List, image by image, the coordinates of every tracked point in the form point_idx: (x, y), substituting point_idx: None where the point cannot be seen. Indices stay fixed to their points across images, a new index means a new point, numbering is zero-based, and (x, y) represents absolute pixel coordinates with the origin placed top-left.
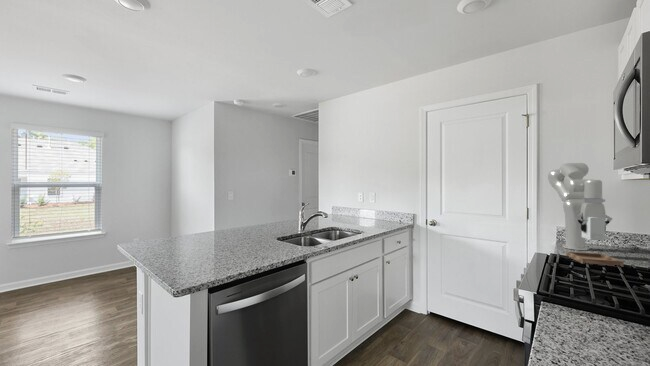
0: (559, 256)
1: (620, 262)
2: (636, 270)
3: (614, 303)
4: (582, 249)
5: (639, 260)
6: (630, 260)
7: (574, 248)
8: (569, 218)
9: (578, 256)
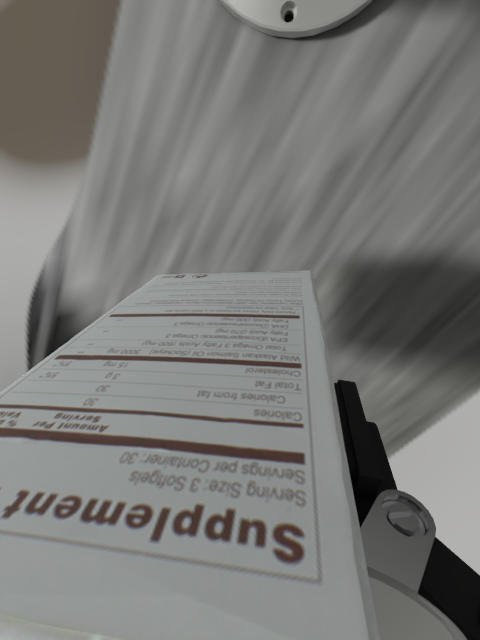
0: (48, 351)
1: None
2: None
3: None
4: (306, 32)
5: (469, 373)
6: (402, 383)
7: (239, 15)
8: None
9: None
